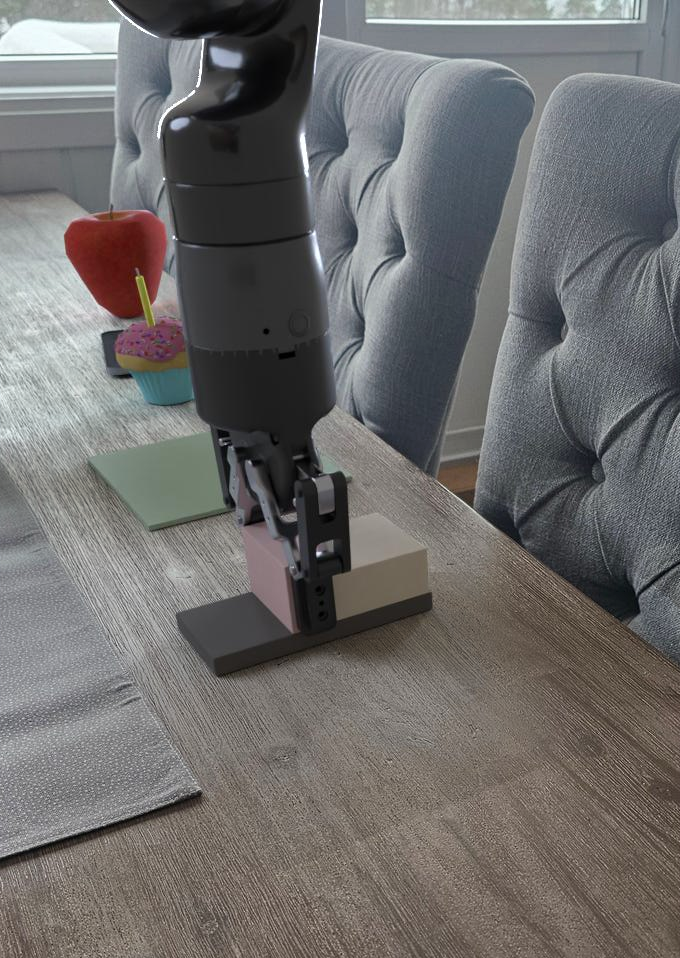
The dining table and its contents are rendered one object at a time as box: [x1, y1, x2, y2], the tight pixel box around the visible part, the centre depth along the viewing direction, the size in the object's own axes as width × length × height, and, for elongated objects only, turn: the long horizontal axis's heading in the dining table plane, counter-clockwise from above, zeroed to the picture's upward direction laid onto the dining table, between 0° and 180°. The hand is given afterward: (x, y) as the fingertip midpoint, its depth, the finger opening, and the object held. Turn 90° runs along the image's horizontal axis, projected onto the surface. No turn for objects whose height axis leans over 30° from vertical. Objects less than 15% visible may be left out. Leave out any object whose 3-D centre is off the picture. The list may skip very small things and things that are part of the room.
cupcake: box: [114, 268, 194, 406], centre depth 101 cm, size 9×8×12 cm
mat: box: [86, 430, 353, 532], centre depth 89 cm, size 16×16×1 cm
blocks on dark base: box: [175, 511, 434, 677], centre depth 67 cm, size 14×6×6 cm, turn 122°
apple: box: [63, 202, 169, 318], centre depth 127 cm, size 11×11×12 cm
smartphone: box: [100, 328, 131, 376], centre depth 116 cm, size 8×1×15 cm
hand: (293, 605), depth 67 cm, fingers closed on blocks on dark base, 6 cm apart
